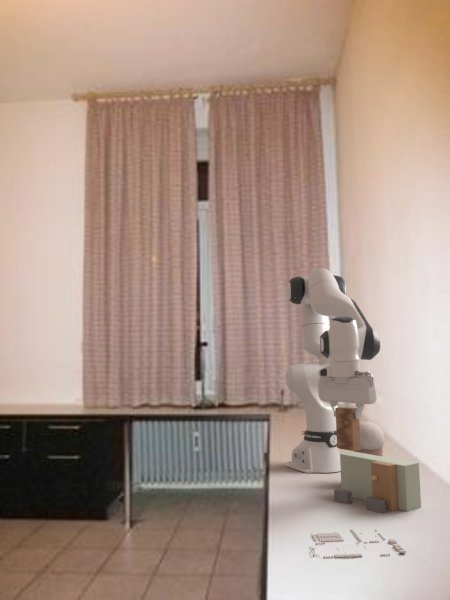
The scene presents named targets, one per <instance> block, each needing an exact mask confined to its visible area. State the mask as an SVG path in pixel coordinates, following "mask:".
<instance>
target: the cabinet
mask: <svg viewBox="0 0 450 600" xmlns="http://www.w3.org/2000/svg"><path fill="white" fill-rule="evenodd" d="M340 465H341V471H340V485H341V488H336V489H334V490H333V496H334V501H336V502H340V503H344V504H351V503H353V498H354V499H355V498H356V499H358V500H363V501H365V509H366V510H369V511H371V512H376V513H380V514H383V513H385V512H386V510H388V511H390V512H393V511H397V510H401V511H406V512H410V511H412V510H416V509H420V508H422V499H421V498H422V497H421V496H422V495H421V483H420V482H421V477H420V463H419V462H417V461H415V462H414V461H412V460H411V461H410V460H406V459H405V460H404V459H399V458H392V457H387V456H383V457H382V456H376V455H371V454H365V453H359V452H353V451H349V452H343V453H340Z"/></svg>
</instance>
